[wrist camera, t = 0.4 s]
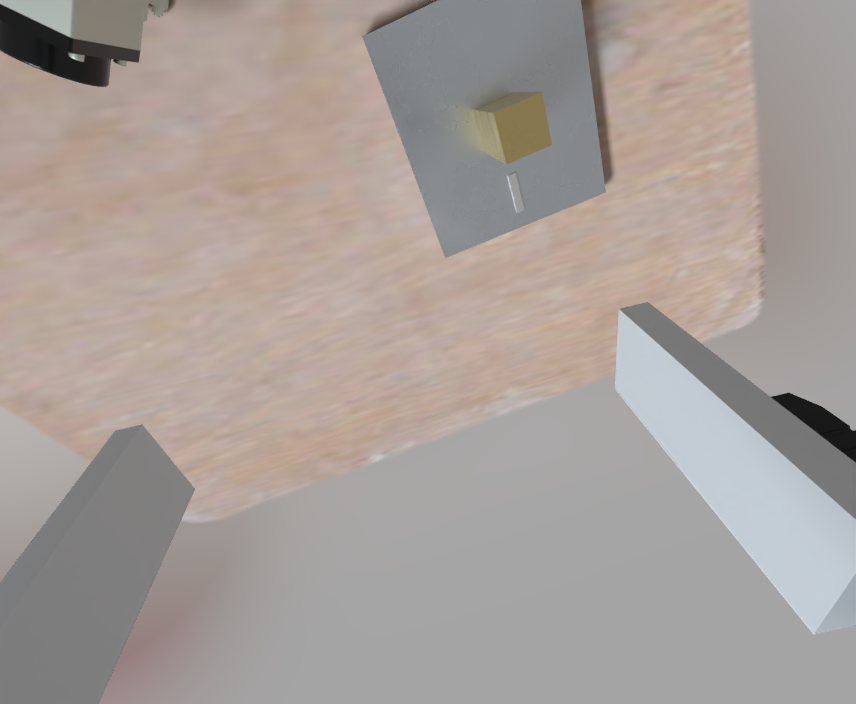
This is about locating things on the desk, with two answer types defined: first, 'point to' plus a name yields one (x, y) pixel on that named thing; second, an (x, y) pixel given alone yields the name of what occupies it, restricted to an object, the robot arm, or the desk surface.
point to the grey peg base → (492, 112)
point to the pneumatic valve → (75, 35)
